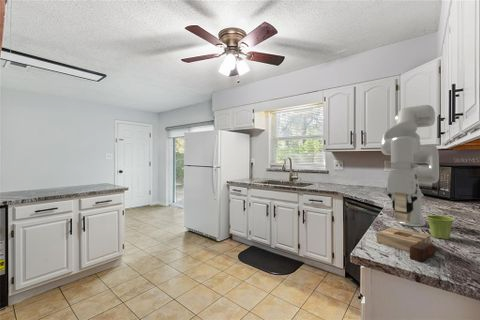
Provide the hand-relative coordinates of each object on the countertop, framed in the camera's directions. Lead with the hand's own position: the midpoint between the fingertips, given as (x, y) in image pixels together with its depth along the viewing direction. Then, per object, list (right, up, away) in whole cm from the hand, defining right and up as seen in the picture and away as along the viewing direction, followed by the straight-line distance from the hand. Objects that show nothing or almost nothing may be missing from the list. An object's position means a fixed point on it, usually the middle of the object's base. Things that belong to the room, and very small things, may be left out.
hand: (402, 210), depth 93 cm
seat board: (0, -14, 0) cm, 14 cm away
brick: (-2, -14, -12) cm, 19 cm away
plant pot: (+22, -14, +8) cm, 27 cm away
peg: (0, -4, 0) cm, 4 cm away
